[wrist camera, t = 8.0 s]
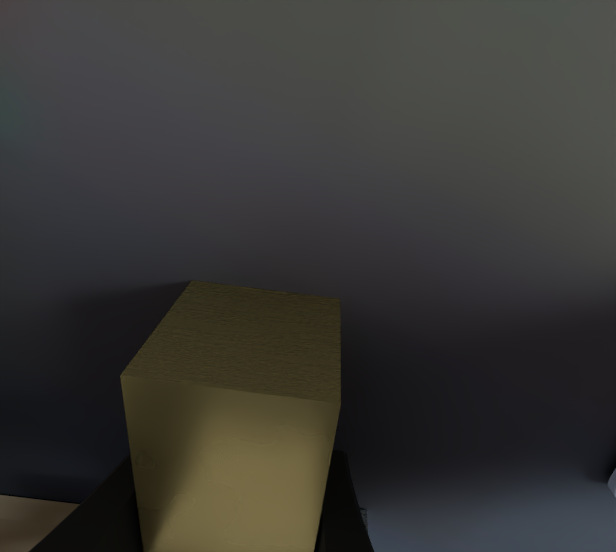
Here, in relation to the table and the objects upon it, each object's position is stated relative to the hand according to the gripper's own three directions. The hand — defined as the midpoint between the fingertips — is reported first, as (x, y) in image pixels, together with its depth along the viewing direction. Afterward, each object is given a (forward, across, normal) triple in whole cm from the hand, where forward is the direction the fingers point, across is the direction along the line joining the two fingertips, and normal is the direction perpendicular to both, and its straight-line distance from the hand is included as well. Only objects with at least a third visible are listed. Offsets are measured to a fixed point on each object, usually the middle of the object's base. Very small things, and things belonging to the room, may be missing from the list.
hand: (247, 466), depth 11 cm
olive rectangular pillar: (+2, 0, 0) cm, 2 cm away
